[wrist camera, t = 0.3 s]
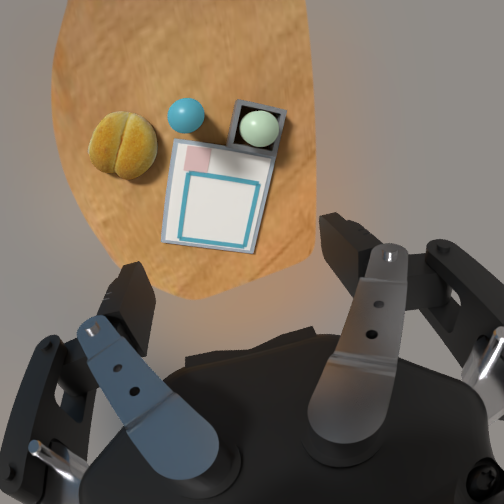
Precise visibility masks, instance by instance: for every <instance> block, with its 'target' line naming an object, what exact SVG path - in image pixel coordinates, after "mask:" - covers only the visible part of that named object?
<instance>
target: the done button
mask: <svg viewBox="0 0 504 504" xmlns="http://www.w3.org/2000/svg"><path fill="white" fill-rule="evenodd" d="M239 132H240V135H241V137H242V138H243V139H244V140H245V141H246V142H247V143H249V144H251V145H253V146H256V147H264V146H268V145H270V144H271V143H273V142H274V141H275V139H276V138H277V136H278V133H279V125H278V122H277V120H276V118H275V117H274V116H273V115H272V114H270V113H268V112H266V111H254V112H250V113H248V114H246V115H245V116H244V117H243V118H242V120H241V122H240V124H239Z"/></svg>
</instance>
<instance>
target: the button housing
mask: <svg viewBox="0 0 504 504" xmlns="http://www.w3.org/2000/svg"><path fill="white" fill-rule="evenodd" d="M241 106H242V107H247V108H252V109H256V110H261V111H266V112H270V113H274V114H276V117H275V118H276V120H277V122H278V125H279V133H278V136H277V138H276V139H275V141H274V142H273V143H271V144H270V145H269V147H268V149H265V148H260V147H255V146H250V145H245V144H239V143H234V138H235V133H236V128H237V124H238V119H239V115H240V110H241ZM286 113H287V110H283V109H280V108H276V107H271V106H267V105H263V104H258V103H254V102H249V101H244V100H239V99H237V100H236V101H235V105H234V109H233V114H232V119H231V123H230V128H229V133H228V137H227V142H226V147H227V148H232V149H238V150H243V151H248V152H254V153H259V154H264V155H268V156H273V157H276V155H277V151H278V147H279V143H280V138H281V134H282V130H283V126H284V121H285V117H286Z"/></svg>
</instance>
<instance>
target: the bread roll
mask: <svg viewBox="0 0 504 504" xmlns="http://www.w3.org/2000/svg"><path fill="white" fill-rule="evenodd" d="M157 149H158V147H157V138H156V133H155V131H154V129H153V128H152V126H151V124H150V123H149V122H148V121H147V120H146V119H145V118H143V117H142V116H140V115H138V114H135V113H130V112H123V111H121V112H114V113H110V114H108V115H107V116H105V117H104V118H103V119H102V121H101V122H100V123H99V125H98V126H97V128H96V129H95V130H94V132H93V136H92V138H91V141H90V144H89V147H88V153H89V155H90V159H91V162H92V164H93V165H94V166H95V167H96V168H97V169H98V170H100V171H102V172H105V173H114V172H115V173H117V174H118V176H119V177H121V178H123V179H127V180H130V179H134V178H136V177H138V176H140V175H142V174H143V173H144V172H145V171H146V170H147V169H148V168H149V167H150V166H151V165H152V164H153V162H154V160H155V158H156V155H157Z"/></svg>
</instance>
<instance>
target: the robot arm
mask: <svg viewBox="0 0 504 504" xmlns="http://www.w3.org/2000/svg"><path fill="white" fill-rule="evenodd" d="M319 225H320V236H321V247H322V252H323V256H324V259H325V260H326V262H327V263H328V265H329V266H330V267H331V269H332V270H333V271H334V273H335V274H336V275H337V276H338V278H339V279H340V281H341V282H342V283H343V285H344V286H345V288H346V289H347V290H348V292H349V293H350V294H351V296H352V297H353V302H352V305H351V308H350V311H349V313H348V316H347V319H346V322H345V325H344V328H343V330H342V334H341V336H340V335H334V334H333V335H332V334H317V335H316V333H315V330H314V328H313V327H312V326H310V327H307V328H303V329H300V330H297V331H293V332H289V333H286V334H282V335H280V336H278V337H276V338H274V339H271V340H269V341H268V342H265V343H263V344H261V345H259V346H256V347H254V348H252V349H249V350H228V351H227V350H226V351H212V352H208V353H203V354H198V355H193V356H188V357H185V367H183V368H181V369H179V370H177V371H175V372H173V373H172V374H170V375H169V376H168V377H167V378H165V379H164V380H163V381H162V380H161V379H160V378H159V376H158V375H157V374H156V373H155V372H154V371H153V370H152V369H151V368H150V367H149V366H148V365H147V363H146V362H145V361H144V360H143V359H142V358H141V357H146V356H147V349H148V343H149V337H150V331H151V325H152V320H153V315H154V309H155V304H156V299H155V294H154V291H153V288H152V286H151V284H150V282H149V279H148V277H147V275H146V272H145V270H144V268H143V266H142V264H141V263H140V262H139V261H138V262H134V263H130V264H127V265H124V266H123V267H122V269H121V272H120V274H119V276H118V278H116V279H115V280H114V281H113V282H112V283H111V284H110V285H109V287H108V290H107V292H106V294H105V296H104V300H103V301H102V303H101V305H100V308H99V310H98V313H97V315H96V316H94V317H91V318H89V319H87V320H86V321H85V322H83V323H82V324H81V325H80V327H79V329H78V330H77V338H75V339H73V340H70V341H68V342H66V343H63V342H62V340H61V339H60V338H59V336H57V335H50V336H48V337H46V338H44V339H43V340H42V341H41V342H40V343H39V344H38V345H37V346H36V348H35V350H34V353H33V355H32V357H31V360H30V362H29V365H28V367H27V369H26V372H25V374H24V377H23V380H22V382H21V385H20V388H19V390H18V393H17V396H16V399H15V402H14V405H13V408H12V411H11V414H10V418H9V421H8V424H7V428H6V431H5V435H4V439H3V443H2V447H1V451H0V489H1V490H2V491H3V492H4V493H6V494H7V495H9V496H11V497H13V498H14V499H16V500H18V501H20V502H22V503H23V504H504V471H503V469H501V467H500V466H499V465H498V464H497V462H496V460H495V458H494V456H493V452H492V448H491V444H490V439H489V431H488V426H489V425H491V424H492V423H493V422H495V421H496V420H504V284H502V283H501V282H500V281H499V280H498V279H497V278H496V277H495V276H494V275H492V274H491V273H490V272H489V271H488V270H487V269H485V268H484V267H483V266H482V265H481V264H480V263H478V262H477V261H476V260H475V259H474V258H472V257H471V256H470V255H469V254H467V253H466V252H465V251H464V250H462V249H461V248H460V247H459V246H457V245H456V244H455V243H453V242H451V241H448V240H443V239H436V240H432V241H430V242H429V243H428V244H427V248H426V253H422V254H411V255H410V254H408V251H407V250H406V249H405V248H404V247H402V246H400V245H397V244H392V243H391V244H390V243H386V244H383V243H382V242H381V241H380V240H378V239H377V238H376V237H375V236H374V235H372V234H370V232H369V231H368V230H366V229H365V228H364V227H363V226H361V225H360V224H359V223H356V222H354V221H351V220H347V221H346V220H345V219H344V218H343V217H341V216H340V215H339V214H338V213H336V212H334V213H330V214H326V215H322V216H320V217H319ZM452 289H453V290H454V291H455V292H456V293H457V294H458V295H459V298H460V301H461V306H460V305H459V304H458V303H457V302H456V301H455V300H454V299H453V298H452V297H451V292H452ZM415 309H419V310H420V312H421V313H422V314H423V315H424V317H425V318H426V319H427V320H428V322H429V323H430V324H431V326H432V327H433V328H434V329H435V331H436V332H437V334H438V335H439V336H440V338H441V339H442V340H443V342H444V343H445V345H446V346H447V347H448V349H449V350H450V351H451V353H452V354H453V356H454V357H455V358H456V360H457V361H458V363H459V364H460V366H461V367H462V374H461V376H462V381H460V380H458V379H455V378H452V377H449V376H447V375H444V374H441V373H438V372H436V371H433V370H430V369H428V368H425V367H422V366H420V365H417V364H414V363H412V362H409V361H407V360H404V359H401V358H399V357H398V355H399V350H400V343H401V337H402V330H403V322H404V314H405V311H407V310H415ZM57 383H58V384H59V386H60V387H61V388H62V389H63V390H64V394H63V398H62V402H61V406H60V407H59V406H58V404H57V403H56V400H55V396H54V394H55V389H56V386H57ZM99 387H100V388H101V389H102V391H103V393H104V395H105V396H106V398H107V400H108V401H109V403H110V405H111V406H112V408H113V409H114V411H115V413H116V414H117V416H118V417H119V419H120V420H121V422H122V423H123V425H124V426H123V427H122V429H121V430H120V431H119V432H118V433H117V435H116V436H115V437H114V438H113V439H112V440H111V442H110V443H109V444H108V445H107V446H106V447H105V449H104V450H103V451H102V452H101V453H100V454H99V456H98V457H97V458H96V459H95V460H94V462H93V463H92V464H91V465H90V466H89V465H88V464H87V453H88V443H89V434H90V427H91V420H92V413H93V407H94V401H95V395H96V389H97V388H99Z"/></svg>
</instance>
